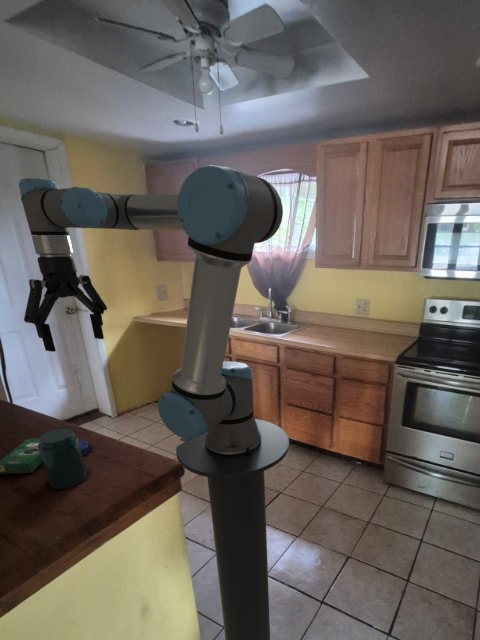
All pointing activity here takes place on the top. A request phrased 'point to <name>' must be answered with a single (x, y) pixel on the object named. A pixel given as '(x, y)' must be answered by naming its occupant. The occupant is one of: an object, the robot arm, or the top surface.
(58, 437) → the jar
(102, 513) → the top surface
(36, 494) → the top surface
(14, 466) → the coffee box
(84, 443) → the jar lid
